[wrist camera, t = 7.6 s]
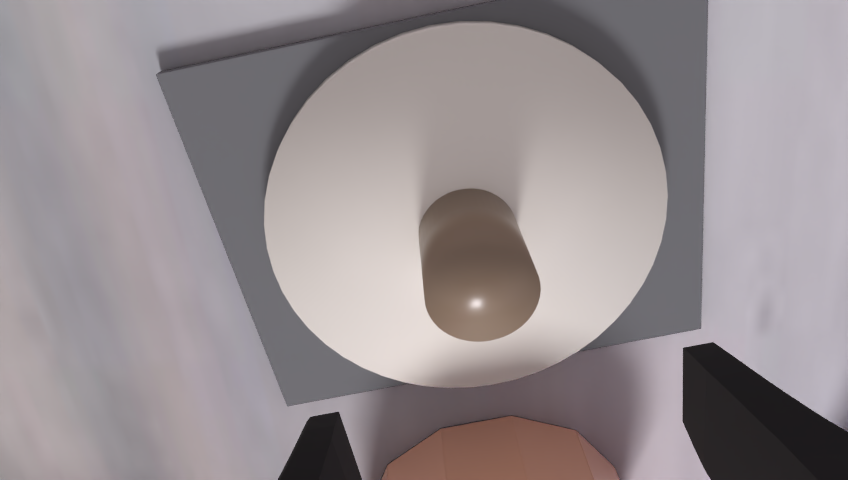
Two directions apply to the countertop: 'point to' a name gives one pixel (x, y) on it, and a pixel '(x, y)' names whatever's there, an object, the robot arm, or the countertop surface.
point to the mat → (318, 58)
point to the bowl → (502, 454)
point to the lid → (465, 204)
